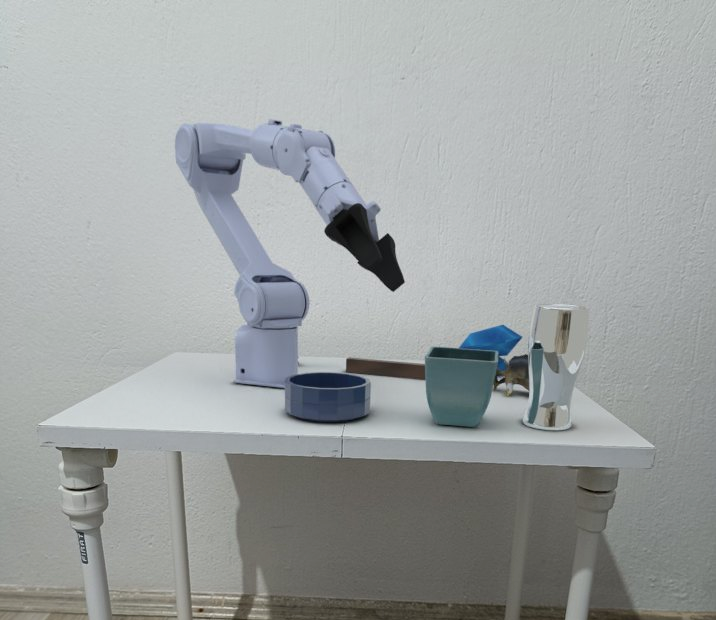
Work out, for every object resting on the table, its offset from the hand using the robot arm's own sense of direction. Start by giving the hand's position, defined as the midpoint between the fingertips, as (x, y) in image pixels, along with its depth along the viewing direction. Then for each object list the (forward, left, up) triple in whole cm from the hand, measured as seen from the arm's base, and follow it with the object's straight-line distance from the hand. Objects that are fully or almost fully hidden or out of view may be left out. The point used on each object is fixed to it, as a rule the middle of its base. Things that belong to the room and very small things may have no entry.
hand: (387, 276), depth 83 cm
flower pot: (+10, 0, -18) cm, 21 cm away
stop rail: (-7, +26, -18) cm, 32 cm away
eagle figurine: (+15, +21, -18) cm, 32 cm away
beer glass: (+21, +4, -18) cm, 28 cm away
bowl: (-7, -3, -18) cm, 19 cm away
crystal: (+8, +36, -18) cm, 41 cm away
